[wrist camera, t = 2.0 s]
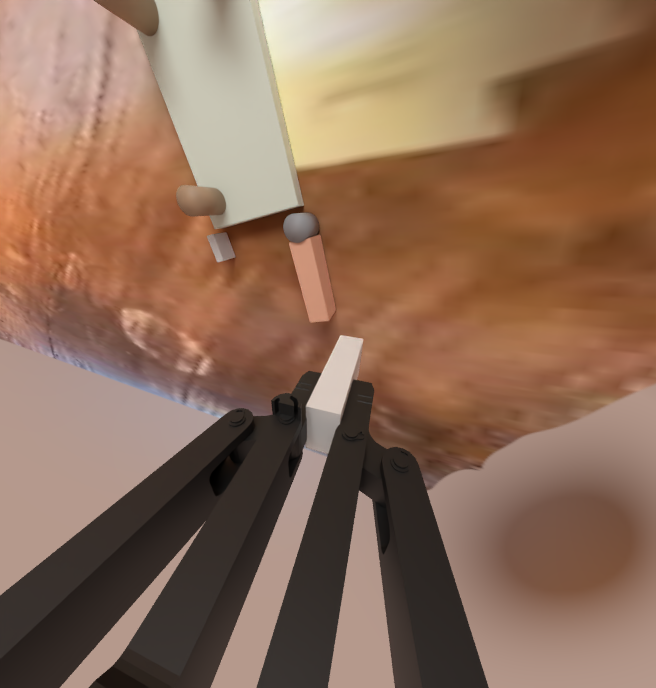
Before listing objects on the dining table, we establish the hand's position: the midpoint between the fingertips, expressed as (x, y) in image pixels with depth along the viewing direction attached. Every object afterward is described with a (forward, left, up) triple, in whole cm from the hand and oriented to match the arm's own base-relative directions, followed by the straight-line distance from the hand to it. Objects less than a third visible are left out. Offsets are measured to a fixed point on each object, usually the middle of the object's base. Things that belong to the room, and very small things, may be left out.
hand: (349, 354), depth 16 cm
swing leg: (-1, -7, -14) cm, 16 cm away
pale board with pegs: (-11, -18, -15) cm, 26 cm away
